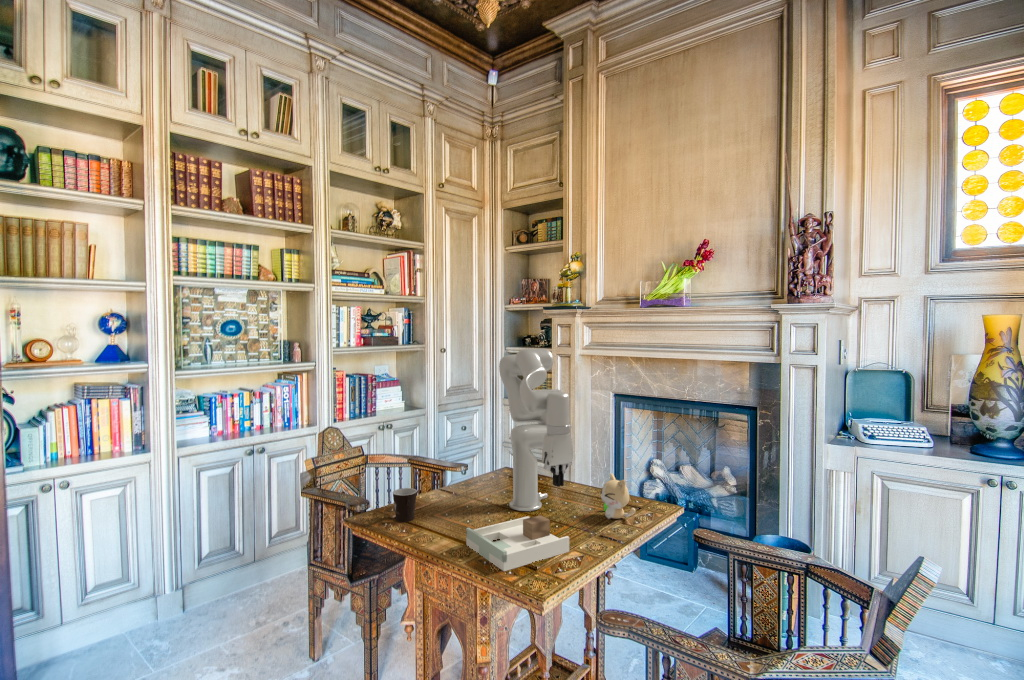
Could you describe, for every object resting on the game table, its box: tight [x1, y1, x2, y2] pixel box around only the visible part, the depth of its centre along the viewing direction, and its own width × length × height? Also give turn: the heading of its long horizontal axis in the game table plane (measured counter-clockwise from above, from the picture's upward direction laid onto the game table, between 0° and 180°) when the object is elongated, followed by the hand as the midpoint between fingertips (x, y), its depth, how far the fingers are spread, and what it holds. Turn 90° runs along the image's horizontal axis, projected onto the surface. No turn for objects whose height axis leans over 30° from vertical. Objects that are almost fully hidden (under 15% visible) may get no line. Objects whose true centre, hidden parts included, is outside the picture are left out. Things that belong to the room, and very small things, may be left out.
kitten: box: [600, 472, 636, 520], centre depth 192 cm, size 15×10×15 cm
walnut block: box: [523, 515, 551, 540], centre depth 168 cm, size 7×5×5 cm
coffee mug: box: [392, 487, 418, 523], centre depth 189 cm, size 12×9×10 cm
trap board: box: [465, 515, 570, 572], centre depth 164 cm, size 24×22×6 cm
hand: (558, 485), depth 173 cm, fingers closed
